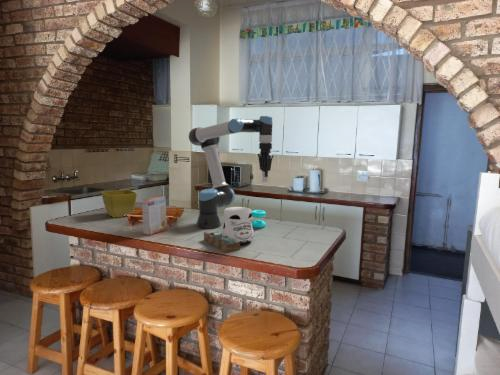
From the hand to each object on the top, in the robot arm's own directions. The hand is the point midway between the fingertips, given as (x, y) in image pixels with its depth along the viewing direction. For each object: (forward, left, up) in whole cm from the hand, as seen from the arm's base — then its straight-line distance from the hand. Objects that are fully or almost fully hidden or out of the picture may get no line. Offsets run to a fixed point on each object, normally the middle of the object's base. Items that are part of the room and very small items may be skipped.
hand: (264, 182), depth 213 cm
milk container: (+10, -24, -31) cm, 40 cm away
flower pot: (-85, -66, -31) cm, 112 cm away
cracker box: (-31, -58, -31) cm, 73 cm away
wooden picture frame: (+10, -35, -30) cm, 47 cm away
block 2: (+15, -34, -31) cm, 48 cm away
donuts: (-11, +3, -31) cm, 33 cm away
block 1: (+4, -34, -31) cm, 46 cm away
